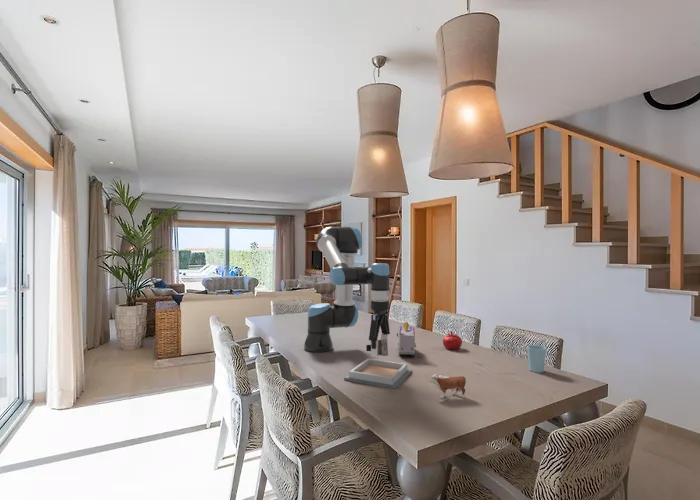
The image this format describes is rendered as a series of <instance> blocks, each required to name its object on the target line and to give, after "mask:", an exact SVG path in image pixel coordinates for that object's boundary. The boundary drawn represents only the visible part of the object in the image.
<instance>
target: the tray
mask: <svg viewBox="0 0 700 500" xmlns="http://www.w3.org/2000/svg"><path fill="white" fill-rule="evenodd" d="M412 372H413V369H410V368H409V369H408V363H404V362H395V361H389V360H381V359H376V358H375V359H374V358H366V359H365V360H363V361H362V362H360V363H359V364H358V365H356V366H355V367H353V368H352V369H350V370H349V371H348V374H347V375H345V376H344V377H343V380H344V381H348V382H353V383H359V384H366V385H371V386H376V387H377V386H378V387H383V388H388V389H389V388H390V389H395V390H397V389H398V388H399V387H400V386H401V385H402V383H404V381H405V380H406V379H407V378H408V377H409V376H410V375H412Z"/></svg>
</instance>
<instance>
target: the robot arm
mask: <svg viewBox="0 0 700 500" xmlns="http://www.w3.org/2000/svg"><path fill="white" fill-rule="evenodd" d="M316 246H317V249H318V251H320V252H322V254H323V256H324V258H325V260H326V262H327V264H328V266H329V269H330V270H329V281H330V283H331V284H332V285H335V286H336V299H335V300H334V301H333V302H332V303H333V304H332V305H331V304H330V303H327V302H326V303H325V302H321V303H316V304H311V305H310V306H309V307H308V309H307V335H306V337H305V341H304V344H303V349H304V350H305V351H307V352H312V353H324V352H330V351H331V350H333V349H334V348H333V347H334V344H333V341H332V337H331V334H330V330H331V329H337V328H338V329H339V328H340V329H341V328H351V327H354V326H355V325H356V324H357V322H358V319H359V308H358V306H357V305H356V303H355V301H354V300H353V293H354V285H371V286H370V299H371V301H370V309H371V311H374V313H373V314H371V315H370V316H371V317H370V320H371V321H370V329H369V335H368V341H370V345H371V351H370V357H375V358H378V357H379V355H378V340H379V339H378V338H379V333H380V330H381V335H380V340H381V339H387V346H388V342H389V340H388V339H389V337H388V335H390V334H391V332H390V325H389V324H390V322H389V309H390V301H389V299H390V295H391V293H390V273H391V272H390V264H388V263H381V262H379V263H376V262H375V263H372V264H371V266H364V267H363V266H362V267H361V266H359V267H355V256H357V254H358V251H359V250H361V248H362V246H363V237H362V234H361V232H360V230H359V228H357V227H354V226H353V227H352V226H351V227H350V226H327V227H325V228H324V229H322V230H321V231H320V232H319V233H318V234H317V236H316ZM388 347H389V346H388Z"/></svg>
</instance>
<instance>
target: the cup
mask: <svg viewBox="0 0 700 500" xmlns="http://www.w3.org/2000/svg"><path fill="white" fill-rule="evenodd" d="M526 348H527V359H528V369H529V371H531V372H532V373H540V374H541V373H544V369H545V361H546V354H547V348H546V347H545V346H543V345H535V344H530V345H529V344H528V345H526Z"/></svg>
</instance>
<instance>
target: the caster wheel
mask: <svg viewBox="0 0 700 500" xmlns="http://www.w3.org/2000/svg"><path fill="white" fill-rule="evenodd" d="M377 340H378V356H381V357H388V356H389V353H388V352H389V350H388V347H389V346H387V339H381V338H380V339H377ZM365 346H366V348H365V349H366V352H371V344H366V345H365Z"/></svg>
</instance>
